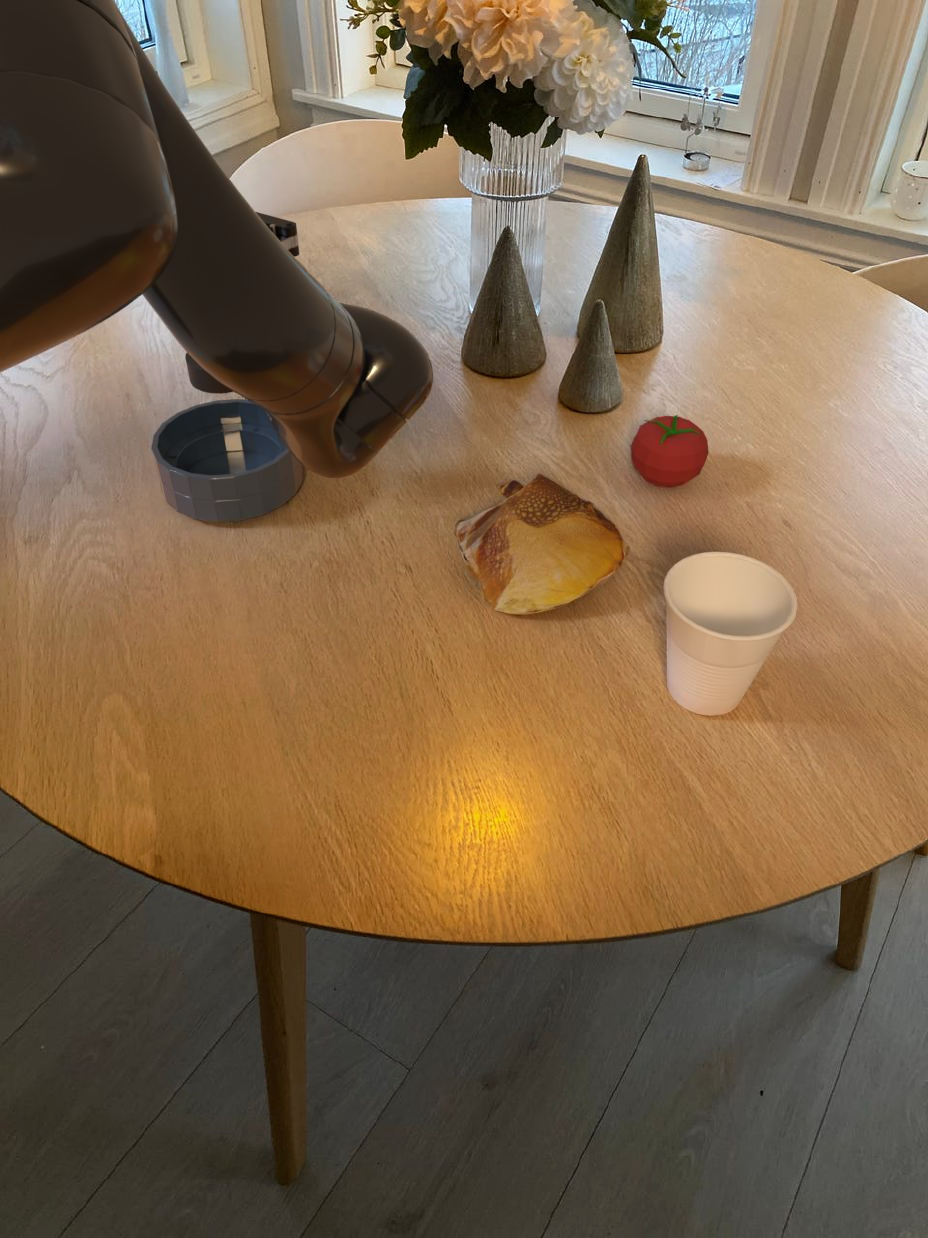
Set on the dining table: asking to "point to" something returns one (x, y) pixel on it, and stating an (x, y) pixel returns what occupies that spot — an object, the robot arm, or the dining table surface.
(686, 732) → the dining table surface
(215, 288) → the robot arm
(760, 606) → the cup
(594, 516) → the seashell
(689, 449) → the tomato
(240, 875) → the dining table surface
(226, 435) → the bowl
